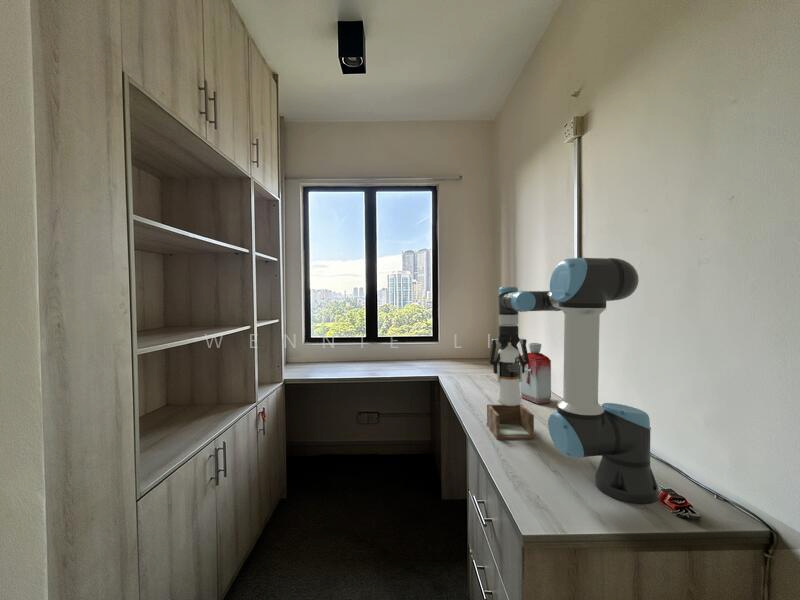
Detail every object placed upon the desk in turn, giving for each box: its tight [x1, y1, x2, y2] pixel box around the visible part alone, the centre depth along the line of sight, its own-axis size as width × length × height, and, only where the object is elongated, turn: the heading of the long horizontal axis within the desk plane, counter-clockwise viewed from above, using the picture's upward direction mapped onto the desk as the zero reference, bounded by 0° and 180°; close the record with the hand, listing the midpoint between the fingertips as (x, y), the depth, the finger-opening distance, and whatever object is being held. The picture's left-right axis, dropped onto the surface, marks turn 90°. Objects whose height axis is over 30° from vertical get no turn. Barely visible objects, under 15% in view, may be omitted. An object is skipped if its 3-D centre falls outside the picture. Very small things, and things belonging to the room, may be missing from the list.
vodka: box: [496, 336, 522, 406], centre depth 149 cm, size 9×9×30 cm
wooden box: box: [486, 403, 536, 441], centre depth 149 cm, size 16×14×9 cm
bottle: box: [519, 342, 552, 405], centre depth 193 cm, size 14×10×30 cm
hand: (509, 381), depth 149 cm, fingers closed on vodka, 8 cm apart
